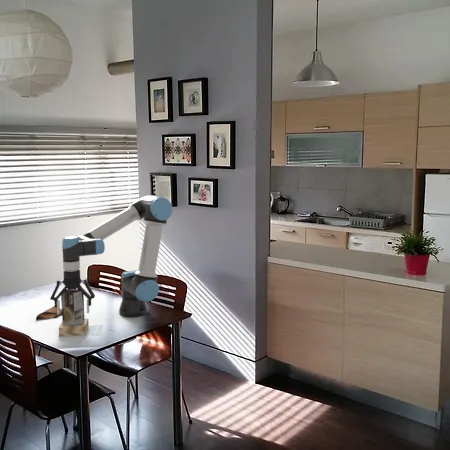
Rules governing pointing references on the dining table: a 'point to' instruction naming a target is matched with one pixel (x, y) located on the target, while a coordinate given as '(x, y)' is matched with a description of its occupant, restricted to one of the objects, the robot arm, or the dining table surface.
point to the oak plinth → (73, 329)
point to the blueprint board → (90, 331)
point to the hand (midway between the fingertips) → (73, 313)
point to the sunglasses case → (49, 314)
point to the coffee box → (72, 307)
